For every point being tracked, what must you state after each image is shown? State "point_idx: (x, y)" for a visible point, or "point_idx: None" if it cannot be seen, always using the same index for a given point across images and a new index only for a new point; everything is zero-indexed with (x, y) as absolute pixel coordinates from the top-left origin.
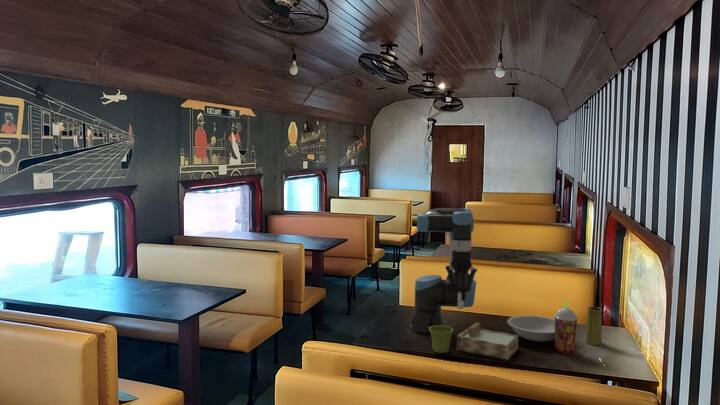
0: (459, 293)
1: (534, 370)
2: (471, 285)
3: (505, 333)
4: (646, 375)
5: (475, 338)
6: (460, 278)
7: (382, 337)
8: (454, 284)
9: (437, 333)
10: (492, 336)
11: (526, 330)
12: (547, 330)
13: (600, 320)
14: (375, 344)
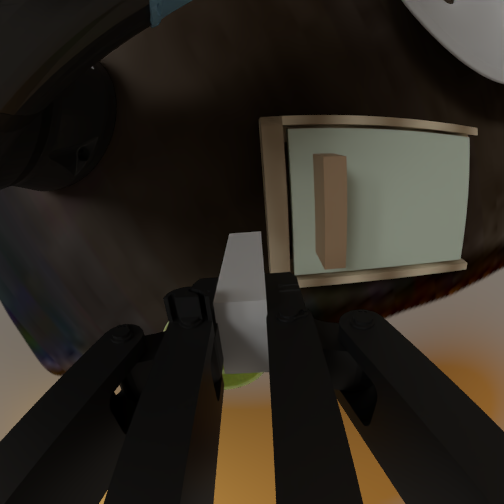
0: (247, 367)
1: (494, 271)
2: (425, 374)
3: (437, 126)
4: None
5: (348, 256)
6: (186, 483)
7: (31, 300)
8: (112, 383)
9: (227, 383)
10: (402, 185)
11: (491, 77)
12: None
13: None
14: (63, 354)
